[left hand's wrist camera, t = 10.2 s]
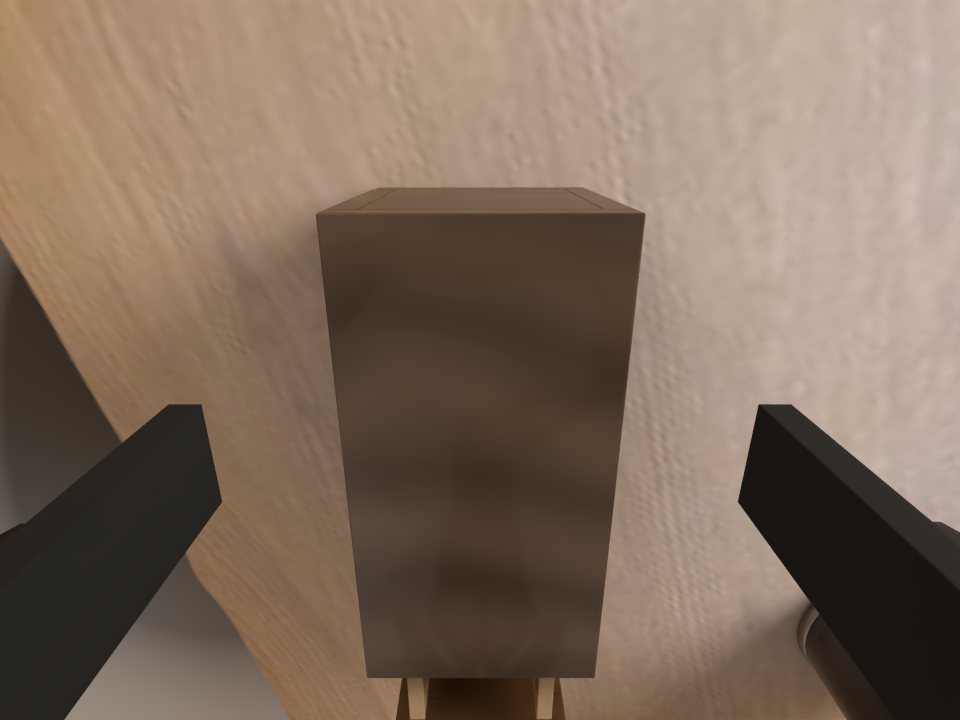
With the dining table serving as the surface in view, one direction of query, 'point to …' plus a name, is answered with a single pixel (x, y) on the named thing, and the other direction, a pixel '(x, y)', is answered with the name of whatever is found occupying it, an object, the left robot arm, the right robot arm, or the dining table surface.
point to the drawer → (480, 699)
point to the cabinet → (480, 419)
